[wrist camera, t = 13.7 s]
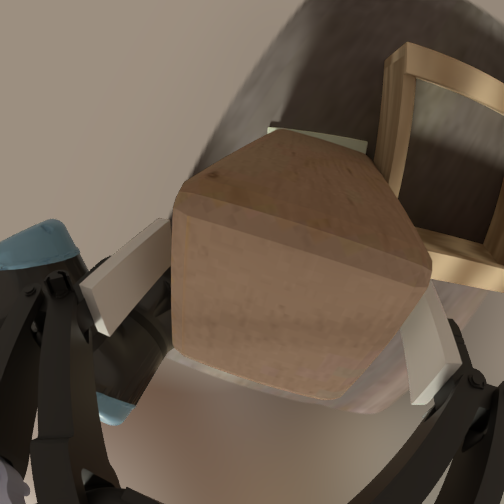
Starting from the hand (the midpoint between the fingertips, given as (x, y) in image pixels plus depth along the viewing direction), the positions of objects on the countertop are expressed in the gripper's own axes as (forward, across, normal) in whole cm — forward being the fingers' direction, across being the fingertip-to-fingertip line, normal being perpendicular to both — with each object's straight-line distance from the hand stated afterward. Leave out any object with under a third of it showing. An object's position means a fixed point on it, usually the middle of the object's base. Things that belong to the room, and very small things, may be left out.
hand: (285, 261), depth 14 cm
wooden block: (+16, 0, 0) cm, 16 cm away
